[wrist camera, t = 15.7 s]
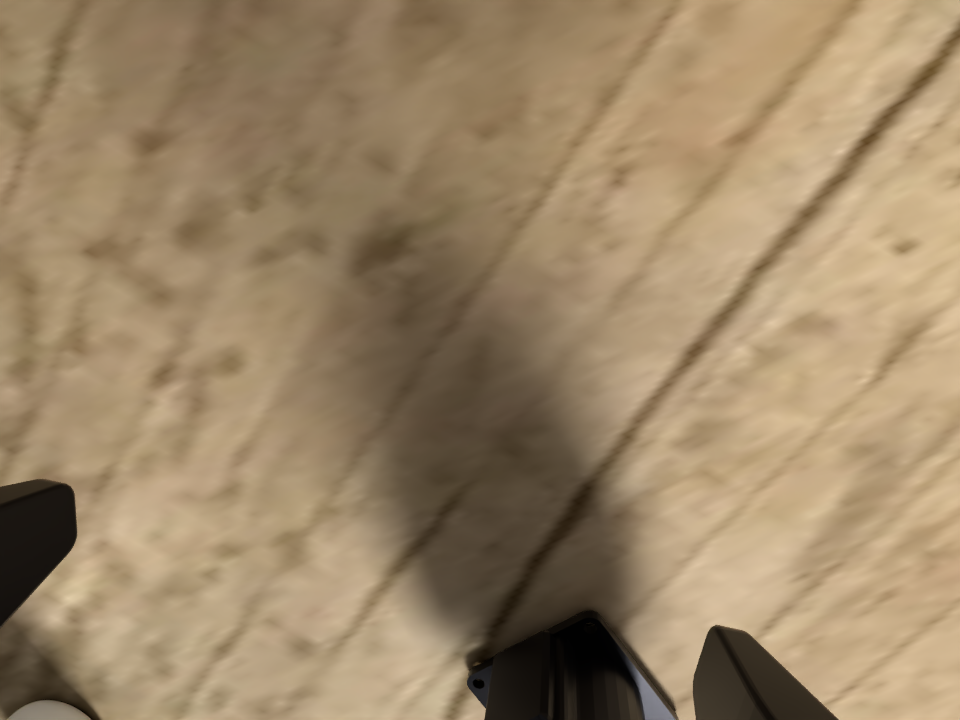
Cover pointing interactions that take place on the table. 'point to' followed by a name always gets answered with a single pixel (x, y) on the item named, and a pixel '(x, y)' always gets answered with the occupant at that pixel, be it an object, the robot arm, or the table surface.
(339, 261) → the table surface
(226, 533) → the table surface
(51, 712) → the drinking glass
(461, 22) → the table surface
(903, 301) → the table surface
